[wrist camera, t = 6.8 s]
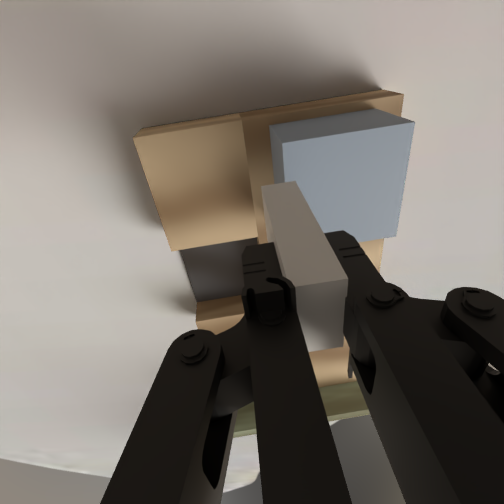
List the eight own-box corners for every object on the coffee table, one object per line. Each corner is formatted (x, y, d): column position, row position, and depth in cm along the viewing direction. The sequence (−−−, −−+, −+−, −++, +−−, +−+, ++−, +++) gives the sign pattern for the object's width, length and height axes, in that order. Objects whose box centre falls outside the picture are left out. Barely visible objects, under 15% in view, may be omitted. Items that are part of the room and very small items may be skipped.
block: (268, 125, 17) (282, 143, 13) (375, 108, 17) (415, 121, 13) (277, 220, 20) (289, 253, 17) (366, 205, 20) (396, 236, 17)
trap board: (142, 128, 18) (117, 153, 14) (382, 89, 18) (437, 101, 14) (224, 387, 34) (226, 438, 29) (354, 365, 34) (376, 413, 30)
